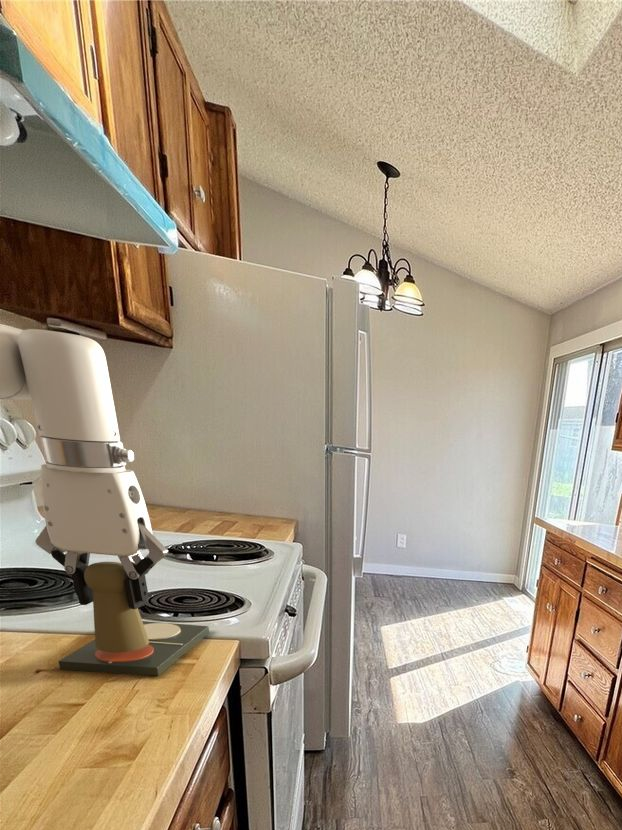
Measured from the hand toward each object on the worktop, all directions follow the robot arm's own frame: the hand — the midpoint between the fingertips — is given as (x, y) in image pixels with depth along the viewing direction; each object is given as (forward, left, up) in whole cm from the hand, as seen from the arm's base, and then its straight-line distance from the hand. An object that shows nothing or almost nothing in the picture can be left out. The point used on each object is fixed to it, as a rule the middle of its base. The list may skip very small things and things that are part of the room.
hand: (114, 602), depth 72 cm
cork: (0, 0, -6) cm, 6 cm away
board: (0, +4, -8) cm, 9 cm away
